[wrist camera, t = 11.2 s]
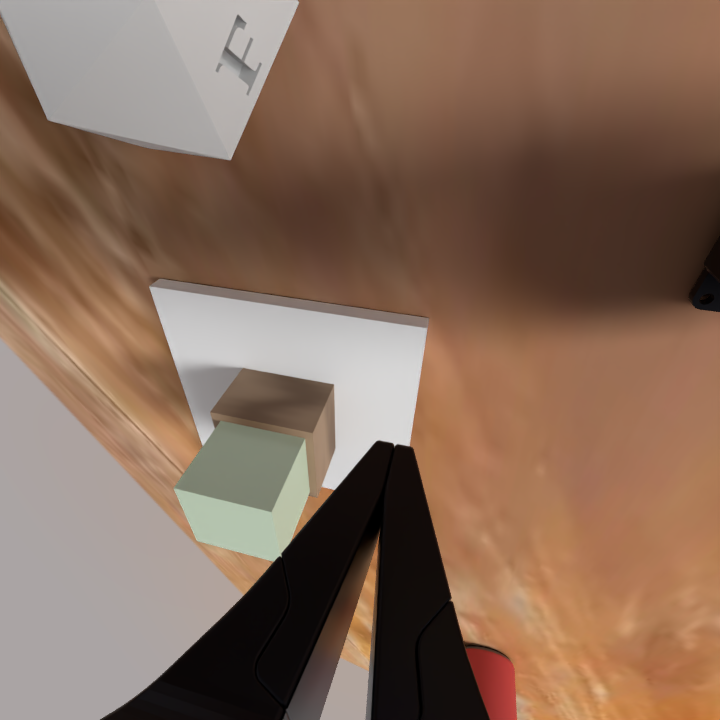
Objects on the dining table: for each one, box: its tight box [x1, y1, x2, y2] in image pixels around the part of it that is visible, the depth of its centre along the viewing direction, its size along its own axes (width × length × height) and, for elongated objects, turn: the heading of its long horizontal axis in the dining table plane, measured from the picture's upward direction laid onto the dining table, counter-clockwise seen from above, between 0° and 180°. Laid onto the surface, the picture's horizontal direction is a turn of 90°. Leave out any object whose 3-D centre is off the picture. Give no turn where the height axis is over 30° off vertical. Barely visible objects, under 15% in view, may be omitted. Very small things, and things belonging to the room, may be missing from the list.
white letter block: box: [0, 0, 299, 160], centre depth 13 cm, size 8×9×10 cm
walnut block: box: [210, 368, 336, 498], centre depth 25 cm, size 6×6×4 cm
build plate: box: [149, 279, 429, 490], centre depth 27 cm, size 16×16×1 cm
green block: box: [174, 421, 310, 561], centre depth 22 cm, size 5×5×4 cm
